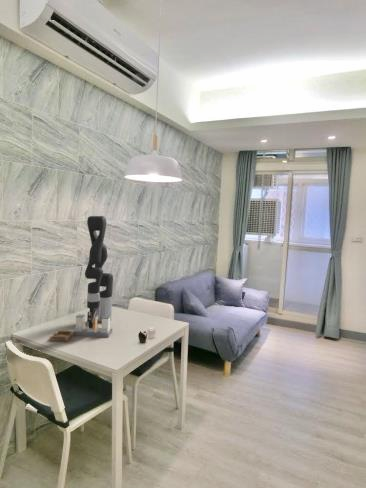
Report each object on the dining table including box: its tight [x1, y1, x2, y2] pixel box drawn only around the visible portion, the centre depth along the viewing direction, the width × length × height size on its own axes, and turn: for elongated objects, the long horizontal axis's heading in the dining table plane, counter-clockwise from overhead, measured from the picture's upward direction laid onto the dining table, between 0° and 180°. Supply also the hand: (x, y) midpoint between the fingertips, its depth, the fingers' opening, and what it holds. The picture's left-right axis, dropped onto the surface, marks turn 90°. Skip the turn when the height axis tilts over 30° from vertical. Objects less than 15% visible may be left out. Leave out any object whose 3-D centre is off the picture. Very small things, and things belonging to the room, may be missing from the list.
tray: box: [49, 330, 75, 343], centre depth 189 cm, size 10×10×2 cm
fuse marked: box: [89, 315, 98, 331], centre depth 198 cm, size 4×4×9 cm
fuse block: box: [73, 313, 113, 338], centre depth 198 cm, size 9×22×11 cm, turn 88°
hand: (92, 325), depth 198 cm, fingers open, 8 cm apart
